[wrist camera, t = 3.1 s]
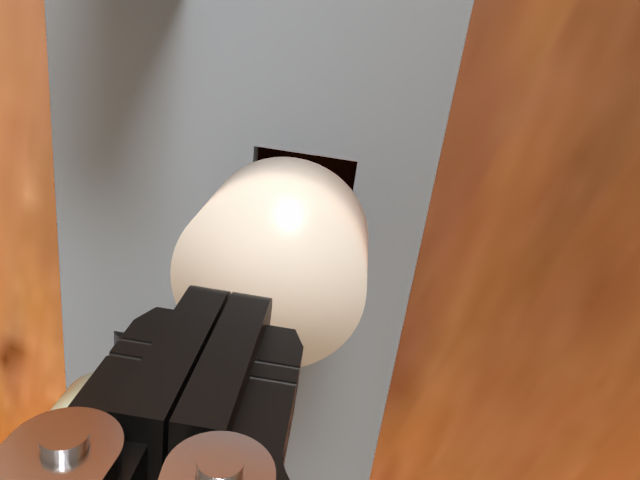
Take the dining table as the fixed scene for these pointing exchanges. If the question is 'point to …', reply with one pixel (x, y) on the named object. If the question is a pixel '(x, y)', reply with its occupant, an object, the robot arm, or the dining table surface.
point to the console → (240, 150)
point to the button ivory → (283, 249)
